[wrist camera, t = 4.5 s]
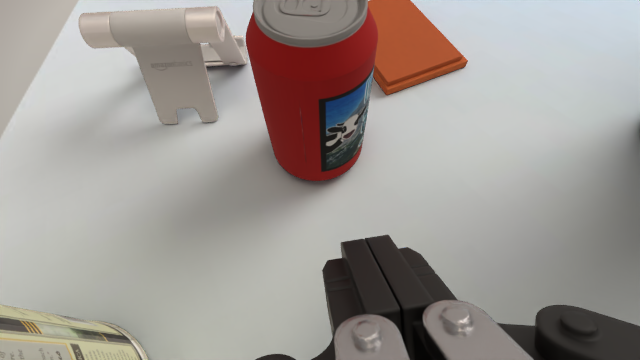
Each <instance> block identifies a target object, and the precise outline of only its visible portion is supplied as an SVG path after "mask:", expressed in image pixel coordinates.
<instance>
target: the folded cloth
mask: <svg viewBox="0 0 640 360" xmlns="http://www.w3.org/2000/svg"><path fill="white" fill-rule="evenodd" d="M368 7H369V9H370V11H371V13H372V15H373V18H374V20H375V22H376V25H377V29H378V43H377V50H376V57H375V64H374V72H373V77H374V78H375V80H376V81H377V83H378V84H379V85H380V87H381V88H382V89H383V91H384V92H385V94H386V95H389V94H391V93H394V92H397V91H400V90H402V89H405V88H408V87H411V86H413V85H416V84H419V83H422V82H424V81H427V80H430V79H433V78H435V77H438V76H441V75H444V74H446V73H449V72H452V71H455V70H457V69H460V68H463V67H465V66H466V64H467V62H468V60H467V59H466V58H465V57H464V56H463V55H462V54H461V53H460V52H459V51H458V50H457V49H456V48H455V47H454V46H453V45H452V44H451V43H450V42H449V41H448V39H447V38H446V37H445V36H444V35H443V34H442V33H441V32H440V31H439V30H438V29H437V28H436V27H435V26H434V25H433V24H432V23H431V22H430V21H429V20H428V19H427V17H426V16H425V15H424V14H423V13H422V12H421V11H420V10H419V9H418V8H417V7H416V6H415V5H414V4H413V3H412V2H411V1H410V0H370V1H368Z"/></svg>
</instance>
